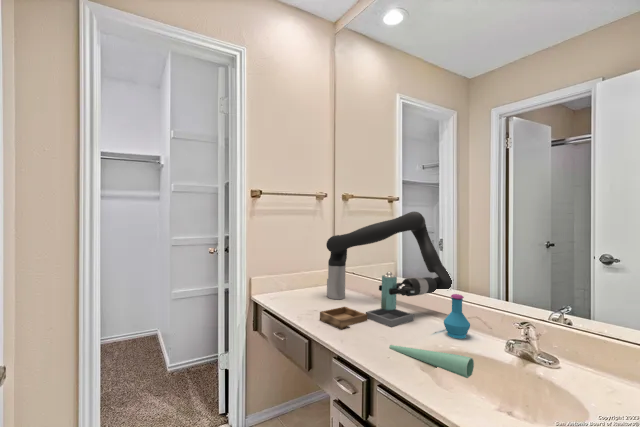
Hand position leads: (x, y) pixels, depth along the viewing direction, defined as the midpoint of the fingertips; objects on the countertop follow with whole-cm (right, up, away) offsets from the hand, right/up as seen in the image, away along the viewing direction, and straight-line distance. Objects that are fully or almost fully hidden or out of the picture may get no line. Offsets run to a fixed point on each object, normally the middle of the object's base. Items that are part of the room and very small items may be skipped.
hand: (384, 290), depth 138 cm
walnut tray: (-17, -13, 0) cm, 22 cm away
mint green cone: (+6, -14, -36) cm, 39 cm away
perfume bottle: (+24, -14, -14) cm, 31 cm away
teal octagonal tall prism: (+2, -8, +1) cm, 8 cm away
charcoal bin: (+2, -13, +1) cm, 14 cm away
